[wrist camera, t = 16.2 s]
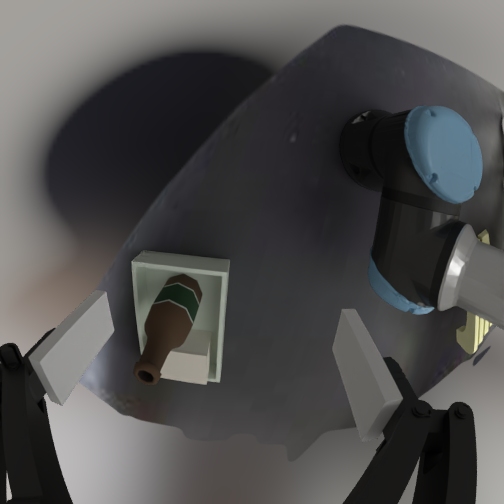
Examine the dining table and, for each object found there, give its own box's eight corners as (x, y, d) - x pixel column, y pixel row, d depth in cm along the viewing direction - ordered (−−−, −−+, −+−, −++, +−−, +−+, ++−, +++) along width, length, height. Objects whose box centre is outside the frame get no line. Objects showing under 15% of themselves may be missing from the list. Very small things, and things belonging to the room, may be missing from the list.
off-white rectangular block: (211, 331, 55) (206, 356, 47) (210, 359, 58) (206, 384, 50) (156, 323, 54) (145, 346, 47) (159, 352, 57) (149, 375, 49)
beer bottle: (165, 305, 53) (122, 390, 30) (164, 270, 50) (111, 347, 28) (203, 310, 53) (177, 402, 30) (204, 274, 51) (173, 359, 28)
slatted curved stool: (436, 319, 57) (473, 360, 40) (428, 270, 52) (475, 307, 35) (505, 264, 52) (544, 289, 35) (502, 215, 47) (549, 235, 31)
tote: (230, 259, 51) (227, 272, 45) (221, 364, 59) (219, 382, 54) (143, 250, 50) (131, 261, 44) (151, 353, 59) (143, 370, 53)
